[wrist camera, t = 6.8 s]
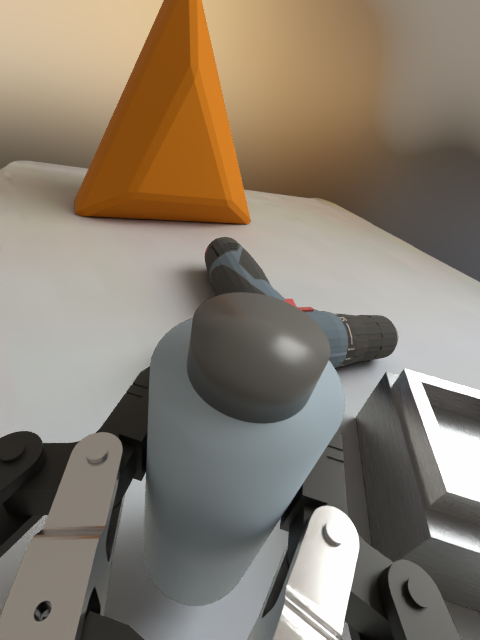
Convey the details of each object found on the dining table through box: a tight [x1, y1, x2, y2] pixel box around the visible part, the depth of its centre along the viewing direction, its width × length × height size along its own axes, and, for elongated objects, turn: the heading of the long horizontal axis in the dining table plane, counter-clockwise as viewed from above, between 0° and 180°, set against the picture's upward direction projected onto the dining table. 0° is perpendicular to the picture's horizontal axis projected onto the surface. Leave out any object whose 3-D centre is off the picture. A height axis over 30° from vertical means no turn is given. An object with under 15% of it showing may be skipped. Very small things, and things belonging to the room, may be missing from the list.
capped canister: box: [144, 292, 345, 606], centre depth 10 cm, size 5×5×11 cm
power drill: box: [205, 237, 399, 368], centre depth 32 cm, size 5×19×20 cm
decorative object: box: [75, 0, 251, 224], centre depth 45 cm, size 30×15×30 cm, turn 114°
